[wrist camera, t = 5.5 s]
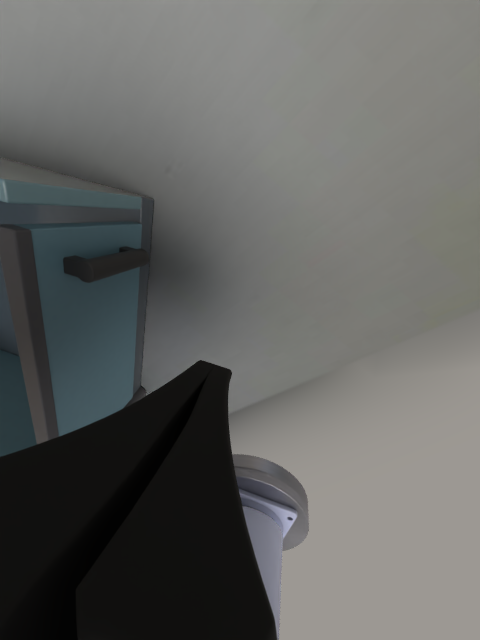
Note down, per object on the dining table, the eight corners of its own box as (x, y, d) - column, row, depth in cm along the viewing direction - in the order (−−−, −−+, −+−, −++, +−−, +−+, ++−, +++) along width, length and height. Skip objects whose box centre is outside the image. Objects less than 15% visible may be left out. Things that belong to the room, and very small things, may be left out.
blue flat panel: (148, 402, 17) (77, 494, 12) (124, 394, 17) (43, 480, 12) (164, 229, 12) (50, 241, 6) (131, 220, 12) (-8, 223, 7)
